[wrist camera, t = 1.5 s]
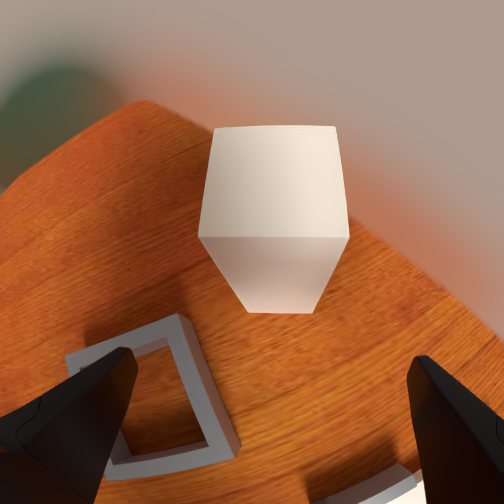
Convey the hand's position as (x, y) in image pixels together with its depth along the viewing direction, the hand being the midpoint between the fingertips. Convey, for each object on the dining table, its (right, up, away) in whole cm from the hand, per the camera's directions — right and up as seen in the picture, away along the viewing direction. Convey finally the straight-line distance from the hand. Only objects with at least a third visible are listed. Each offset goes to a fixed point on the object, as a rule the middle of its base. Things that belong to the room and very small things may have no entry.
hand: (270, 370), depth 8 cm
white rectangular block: (+1, +1, +13) cm, 13 cm away
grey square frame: (-8, -8, +11) cm, 15 cm away
